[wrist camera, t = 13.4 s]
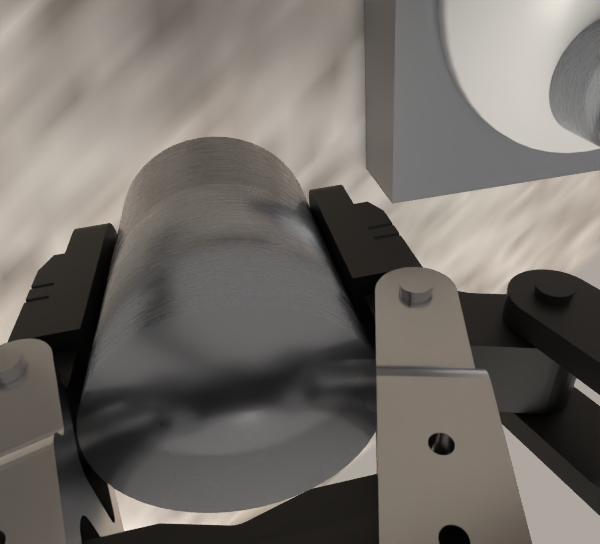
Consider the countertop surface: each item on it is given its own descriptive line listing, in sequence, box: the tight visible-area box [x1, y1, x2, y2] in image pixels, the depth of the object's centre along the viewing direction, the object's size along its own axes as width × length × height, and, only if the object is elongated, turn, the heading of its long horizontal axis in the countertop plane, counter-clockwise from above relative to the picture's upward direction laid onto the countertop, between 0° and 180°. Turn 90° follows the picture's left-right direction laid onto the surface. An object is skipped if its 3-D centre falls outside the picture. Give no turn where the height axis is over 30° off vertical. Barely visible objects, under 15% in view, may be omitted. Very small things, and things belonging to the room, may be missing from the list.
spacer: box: [77, 137, 376, 513], centre depth 10 cm, size 4×4×6 cm
